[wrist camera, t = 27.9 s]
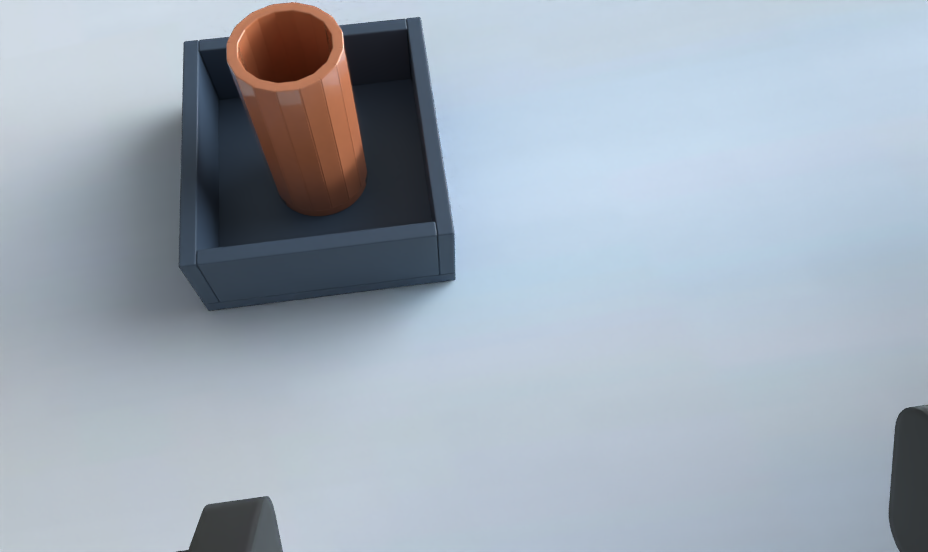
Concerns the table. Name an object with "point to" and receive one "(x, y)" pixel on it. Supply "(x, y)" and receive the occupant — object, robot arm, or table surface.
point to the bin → (302, 236)
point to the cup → (301, 105)
